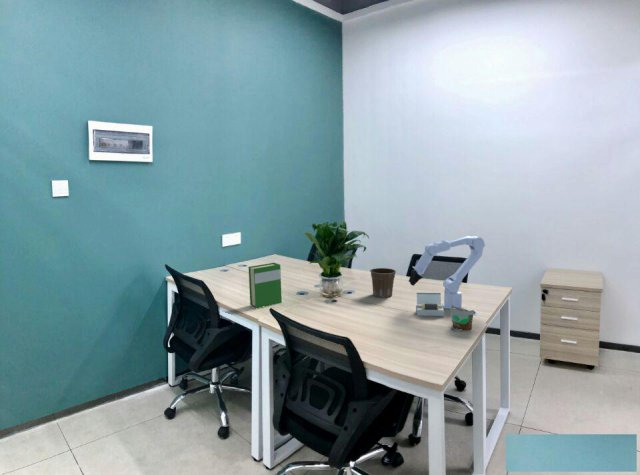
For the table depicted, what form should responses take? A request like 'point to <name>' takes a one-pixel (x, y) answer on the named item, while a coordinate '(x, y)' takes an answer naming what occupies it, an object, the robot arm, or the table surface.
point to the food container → (461, 318)
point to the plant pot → (382, 281)
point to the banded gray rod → (431, 306)
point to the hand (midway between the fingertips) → (410, 283)
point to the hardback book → (265, 284)
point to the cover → (428, 298)
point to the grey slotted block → (429, 311)
